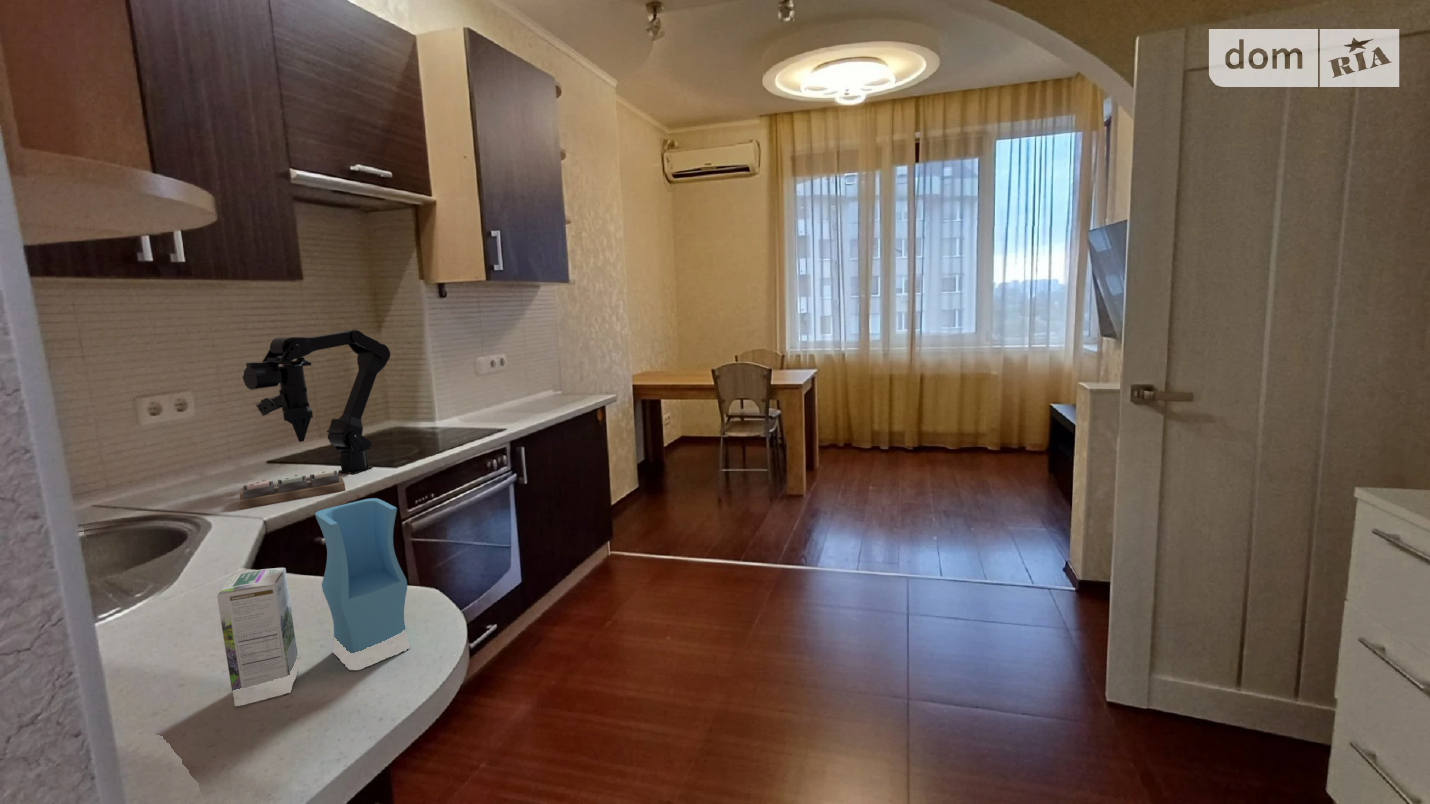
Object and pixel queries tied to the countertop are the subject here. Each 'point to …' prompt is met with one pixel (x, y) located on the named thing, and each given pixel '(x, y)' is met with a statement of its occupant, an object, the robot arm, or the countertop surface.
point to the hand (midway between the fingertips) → (301, 441)
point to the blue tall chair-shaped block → (362, 573)
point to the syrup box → (257, 627)
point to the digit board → (290, 491)
